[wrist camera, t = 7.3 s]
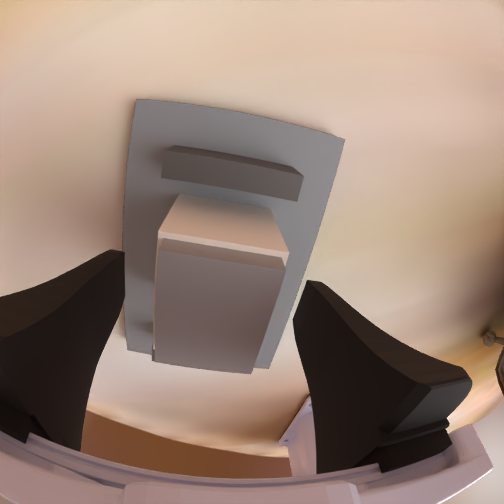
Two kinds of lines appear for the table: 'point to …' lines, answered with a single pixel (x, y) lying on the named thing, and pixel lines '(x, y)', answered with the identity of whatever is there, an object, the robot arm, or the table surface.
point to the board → (220, 193)
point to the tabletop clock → (489, 339)
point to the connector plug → (215, 283)
